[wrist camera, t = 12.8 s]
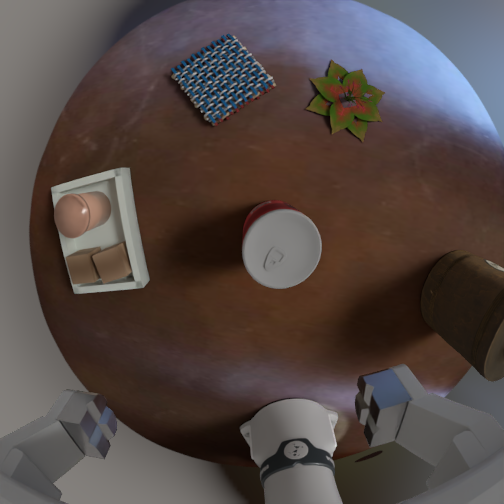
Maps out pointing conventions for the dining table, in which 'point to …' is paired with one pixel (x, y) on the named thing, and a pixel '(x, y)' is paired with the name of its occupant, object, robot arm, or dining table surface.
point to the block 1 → (83, 266)
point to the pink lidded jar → (81, 212)
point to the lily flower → (357, 87)
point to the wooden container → (468, 309)
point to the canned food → (280, 245)
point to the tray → (108, 228)
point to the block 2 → (113, 262)
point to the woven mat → (223, 79)
